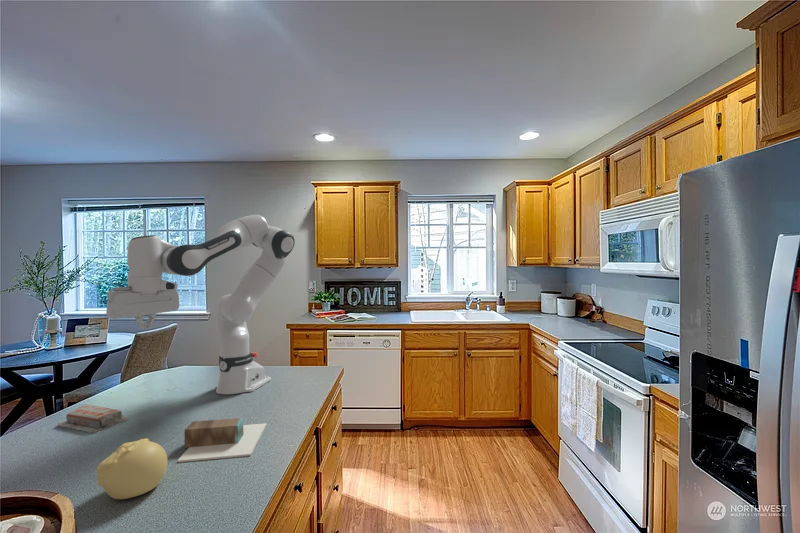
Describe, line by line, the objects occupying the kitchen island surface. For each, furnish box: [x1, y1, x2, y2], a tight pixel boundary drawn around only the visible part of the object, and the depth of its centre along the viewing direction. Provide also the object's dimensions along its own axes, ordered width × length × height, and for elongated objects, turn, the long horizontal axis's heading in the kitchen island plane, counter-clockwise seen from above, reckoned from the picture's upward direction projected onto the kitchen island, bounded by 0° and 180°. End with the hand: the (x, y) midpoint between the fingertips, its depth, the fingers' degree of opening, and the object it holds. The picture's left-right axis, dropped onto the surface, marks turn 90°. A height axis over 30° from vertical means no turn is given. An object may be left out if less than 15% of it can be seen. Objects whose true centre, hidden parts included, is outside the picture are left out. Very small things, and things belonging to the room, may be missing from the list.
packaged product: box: [57, 404, 128, 434], centre depth 112 cm, size 18×5×10 cm
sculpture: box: [95, 438, 168, 500], centre depth 78 cm, size 12×12×11 cm
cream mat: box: [177, 422, 267, 463], centre depth 99 cm, size 18×18×1 cm
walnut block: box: [184, 417, 244, 449], centre depth 98 cm, size 5×5×14 cm
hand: (145, 328), depth 110 cm, fingers closed
